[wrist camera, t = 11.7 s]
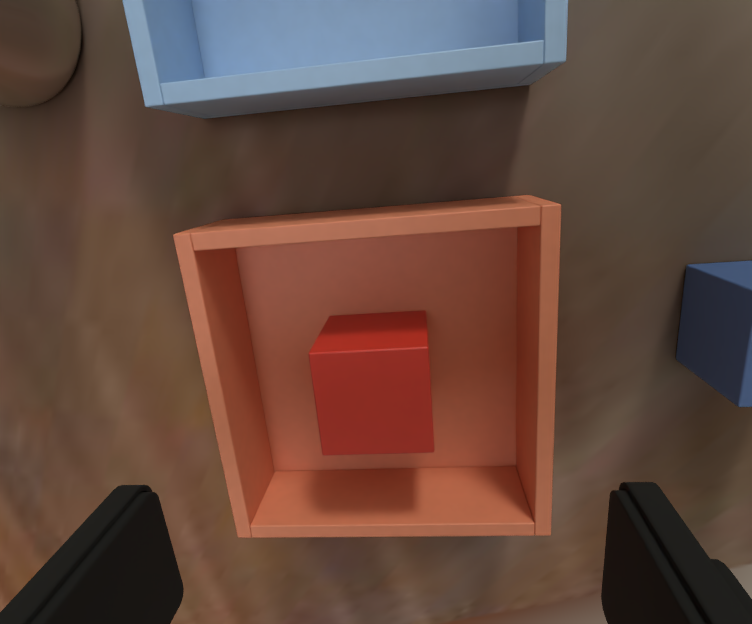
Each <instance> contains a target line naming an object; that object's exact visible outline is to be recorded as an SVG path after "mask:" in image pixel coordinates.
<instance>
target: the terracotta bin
mask: <svg viewBox="0 0 752 624" xmlns="http://www.w3.org/2000/svg"><path fill="white" fill-rule="evenodd" d="M560 232H561V204H558V203H555V202H551V201H548V200H544V199H541V198H538V197H534V196H531V195H521V196H509V197H496V198H484V199H472V200H459V201H447V202H434V203H422V204H409V205H397V206H385V207H372V208H360V209H347V210H335V211H322V212H310V213H298V214H285V215H273V216H260V217H248V218H235V219H223V220H220V221H216V222H213V223H210V224H206V225H203V226H199V227H196V228H193V229H189V230H186V231H183V232H179V233H176V234H174V235H173V237H174V242H175V246H176V251H177V256H178V260H179V265H180V270H181V274H182V279H183V284H184V288H185V293H186V298H187V302H188V307H189V311H190V316H191V321H192V325H193V330H194V335H195V339H196V344H197V349H198V353H199V358H200V363H201V367H202V372H203V377H204V381H205V386H206V391H207V395H208V400H209V405H210V409H211V414H212V419H213V423H214V428H215V433H216V437H217V442H218V447H219V451H220V456H221V461H222V465H223V470H224V475H225V479H226V484H227V489H228V493H229V498H230V503H231V507H232V512H233V517H234V521H235V526H236V531H237V535H238V537H239V538H251V537H253V538H279V537H416V536H533V535H534V534H535V535H536V536H549V535H551V513H552V482H553V450H554V419H555V388H556V357H557V326H558V295H559V264H560ZM422 310H424V311H426V314H427V328H428V343H429V359H430V377H431V395H432V413H433V430H434V448H435V451H434V452H433V453H406V454H367V455H329V456H324V455H323V454H322V449H321V442H320V435H319V428H318V421H317V413H316V406H315V399H314V392H313V385H312V378H311V371H310V363H309V356H308V353H309V351H310V349H311V348H312V346H313V344H314V342H315V341H316V339H317V337H318V335H319V333H320V332H321V330H322V328H323V326H324V325H325V323H326V321H327V319H328V317H329V316H335V315H353V314H370V313H387V312H405V311H422Z"/></svg>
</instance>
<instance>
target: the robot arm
mask: <svg viewBox="0 0 752 624" xmlns="http://www.w3.org/2000/svg"><path fill="white" fill-rule="evenodd" d="M182 597H183V583H182V580H181V576H180V573H179V569H178V565H177V562H176V558H175V555H174V551H173V547H172V544H171V540H170V537H169V533H168V529H167V526H166V522H165V519H164V515H163V511H162V508H161V504H160V501H159V497H158V495H157V494H156V493H155V492H152V490H151V488H150V487H149V486H147V485H121V486H118V487H117V488H116V489H114V490H113V491H112V492H111V493H110V495H109V496H108V497H107V498H106V499H105V500H104V501H103V502H102V503H101V504H100V505H99V506H98V508H97V509H96V510H95V511H94V512H93V513H92V514H91V515H90V516H89V517H88V518H87V519H86V520H85V522H84V523H83V524H82V525H81V526H80V527H79V528H78V529H77V530H76V531H75V532H74V533H73V535H72V536H71V537H70V538H69V539H68V540H67V541H66V542H65V543H64V544H63V545H62V546H61V547H60V549H59V550H58V551H57V552H56V553H55V554H54V555H53V556H52V557H51V558H50V559H49V560H48V562H47V563H46V564H45V565H44V566H43V567H42V568H41V569H40V570H39V571H38V572H37V573H36V575H35V576H34V577H33V578H32V579H31V580H30V581H29V582H28V583H27V584H26V585H25V586H24V587H23V589H22V590H21V591H20V592H19V593H18V594H17V595H16V596H15V597H14V598H13V599H12V600H11V602H10V603H9V604H8V605H7V606H6V607H5V608H4V609H3V610H2V611H1V612H0V624H170V623H171V621H172V619H173V617H174V615H175V614H176V612H177V610H178V608H179V606H180V604H181V601H182ZM601 597H602V606H603V611H604V614H605V617H606V620H607V623H608V624H752V599H751V598H750V596H749V595H748V594H747V592H746V591H745V590H744V589H743V587H742V585H741V584H740V583H739V582H738V580H737V579H736V577H735V576H734V575H733V573H732V572H731V571H730V570H729V569H728V567H727V566H726V565H725V564H724V563H722V562H721V561H719V560H717V559H710V558H709V557H708V555H707V554H706V553H705V551H704V550H703V548H702V547H701V546H700V544H699V543H698V541H697V540H696V538H695V537H694V536H693V534H692V533H691V531H690V530H689V528H688V527H687V526H686V524H685V523H684V521H683V520H682V519H681V517H680V516H679V514H678V513H677V511H676V510H675V509H674V507H673V506H672V504H671V503H670V502H669V500H668V499H667V497H666V496H665V494H664V493H663V492H662V490H661V489H660V487H659V486H658V485H657V484H656V483H653V482H623V483H621V485H620V487H619V490H613V491H611V493H610V500H609V512H608V524H607V535H606V547H605V559H604V570H603V582H602V595H601Z"/></svg>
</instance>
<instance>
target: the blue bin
mask: <svg viewBox="0 0 752 624" xmlns="http://www.w3.org/2000/svg"><path fill="white" fill-rule="evenodd" d="M123 5H124V10H125V14H126V19H127V23H128V28H129V33H130V37H131V42H132V47H133V51H134V56H135V61H136V65H137V70H138V75H139V79H140V84H141V89H142V93H143V98H144V103H145V106H146V107H149V108H153V109H158V110H163V111H168V112H173V113H178V114H183V115H188V116H193V117H199V118H203V119H207V118H217V117H226V116H236V115H246V114H255V113H265V112H274V111H284V110H294V109H303V108H313V107H322V106H332V105H342V104H351V103H361V102H371V101H380V100H390V99H399V98H409V97H419V96H428V95H438V94H447V93H457V92H467V91H476V90H486V89H495V88H505V87H515V86H524V85H531V84H532V83H534V82H536V81H537V80H539V79H540V78H542V77H543V76H545V75H546V74H548V73H549V72H551V71H552V70H554V69H555V68H557V67H558V66H560V65H561V64H562V63H564V62H565V61H566V49H567V18H568V0H123Z"/></svg>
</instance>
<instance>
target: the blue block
mask: <svg viewBox="0 0 752 624" xmlns="http://www.w3.org/2000/svg"><path fill="white" fill-rule="evenodd" d="M676 360H677V361H679V362H680V363H681V364H683V365H684V366H685V367H687V368H688V369H689V370H691V371H692V372H693V373H694V374H696V375H697V376H698V377H700V378H701V379H702V380H704V381H705V382H706V383H708V384H709V385H710V386H712V387H713V388H714V389H716V390H717V391H718V392H719V393H721V394H722V395H723V396H725V397H726V398H727V399H729V400H730V401H731V402H733V403H734V404H735V405H737V406H738V407H752V261H736V262H721V263H705V264H689V265H687V266H686V274H685V283H684V292H683V300H682V309H681V318H680V327H679V335H678V344H677V353H676Z"/></svg>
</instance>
